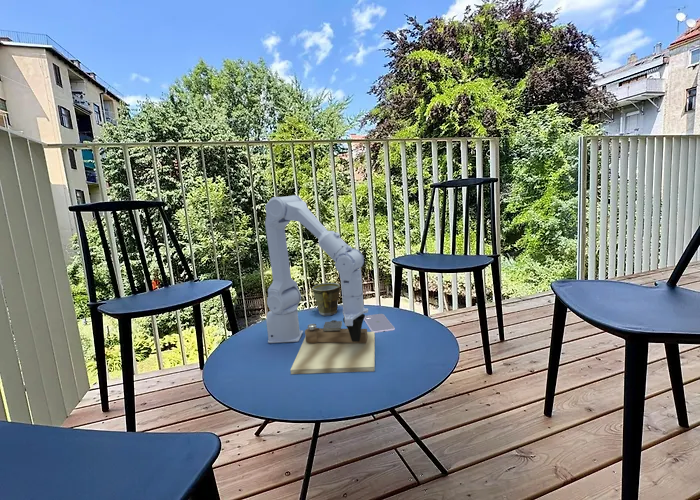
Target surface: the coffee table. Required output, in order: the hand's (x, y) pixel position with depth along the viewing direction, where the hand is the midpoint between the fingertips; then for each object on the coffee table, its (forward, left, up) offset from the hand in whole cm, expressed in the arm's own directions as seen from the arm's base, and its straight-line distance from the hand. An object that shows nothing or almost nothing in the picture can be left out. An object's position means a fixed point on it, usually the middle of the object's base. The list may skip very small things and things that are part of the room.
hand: (356, 340), depth 104 cm
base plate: (-5, -2, -3) cm, 6 cm away
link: (-6, +3, -1) cm, 7 cm away
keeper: (-9, +5, -1) cm, 11 cm away
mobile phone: (+6, +19, -3) cm, 20 cm away
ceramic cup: (-12, +30, -3) cm, 33 cm away
